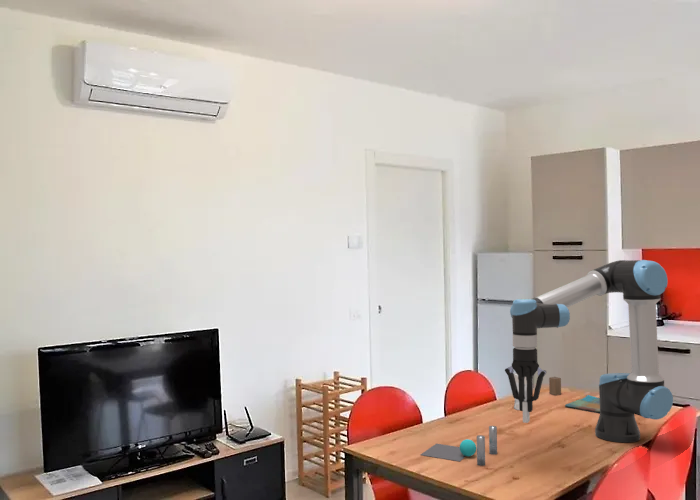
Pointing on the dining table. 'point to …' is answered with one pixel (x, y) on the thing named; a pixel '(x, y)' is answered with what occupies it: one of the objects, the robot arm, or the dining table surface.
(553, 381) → the wooden block
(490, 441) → the post
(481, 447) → the post
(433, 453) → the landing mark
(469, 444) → the ball
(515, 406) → the beer glass
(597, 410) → the dish towel
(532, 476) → the dining table surface
